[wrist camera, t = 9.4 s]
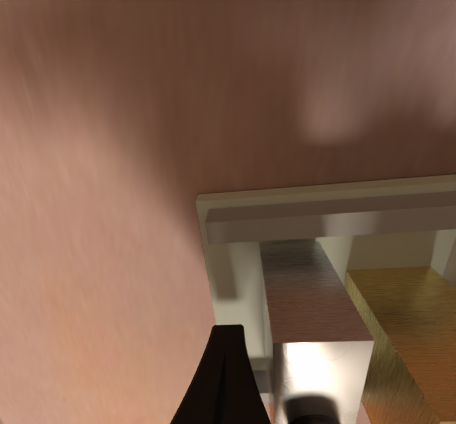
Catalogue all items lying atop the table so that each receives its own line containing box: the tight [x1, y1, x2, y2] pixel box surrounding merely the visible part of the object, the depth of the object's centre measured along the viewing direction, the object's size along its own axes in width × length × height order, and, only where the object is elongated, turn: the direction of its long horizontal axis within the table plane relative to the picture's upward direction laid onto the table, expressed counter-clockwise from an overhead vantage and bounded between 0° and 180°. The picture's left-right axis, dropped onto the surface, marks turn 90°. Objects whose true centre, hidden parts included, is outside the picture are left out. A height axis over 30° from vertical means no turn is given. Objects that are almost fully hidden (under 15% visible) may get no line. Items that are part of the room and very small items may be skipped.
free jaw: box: [259, 241, 374, 424], centre depth 9 cm, size 2×8×5 cm, turn 6°
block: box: [344, 266, 456, 424], centre depth 9 cm, size 4×4×6 cm
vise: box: [195, 174, 456, 403], centre depth 10 cm, size 14×12×5 cm
